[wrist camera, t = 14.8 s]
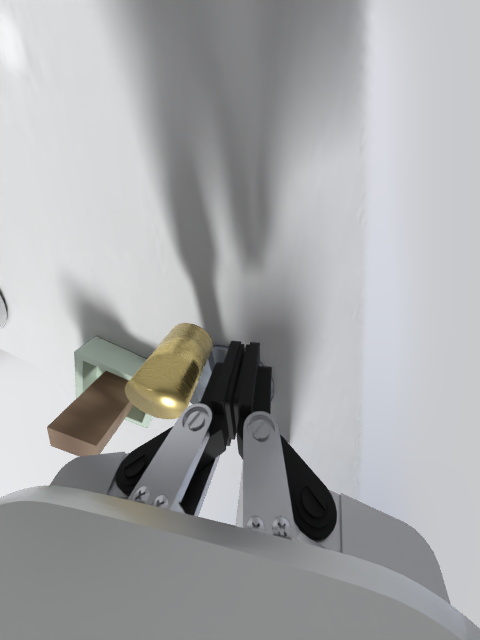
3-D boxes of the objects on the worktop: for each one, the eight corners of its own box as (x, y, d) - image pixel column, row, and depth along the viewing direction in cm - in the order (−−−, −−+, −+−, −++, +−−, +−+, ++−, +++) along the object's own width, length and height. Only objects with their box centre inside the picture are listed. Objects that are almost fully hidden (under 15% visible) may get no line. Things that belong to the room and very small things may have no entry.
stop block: (109, 383, 22) (50, 445, 16) (112, 364, 20) (46, 427, 14) (139, 396, 23) (94, 461, 17) (145, 379, 21) (96, 446, 15)
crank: (239, 422, 18) (228, 495, 14) (201, 419, 19) (179, 487, 14) (219, 314, 12) (187, 380, 7) (165, 316, 13) (104, 375, 8)
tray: (93, 383, 24) (76, 399, 22) (95, 336, 19) (74, 351, 17) (157, 409, 25) (146, 428, 23) (174, 371, 20) (163, 390, 18)
